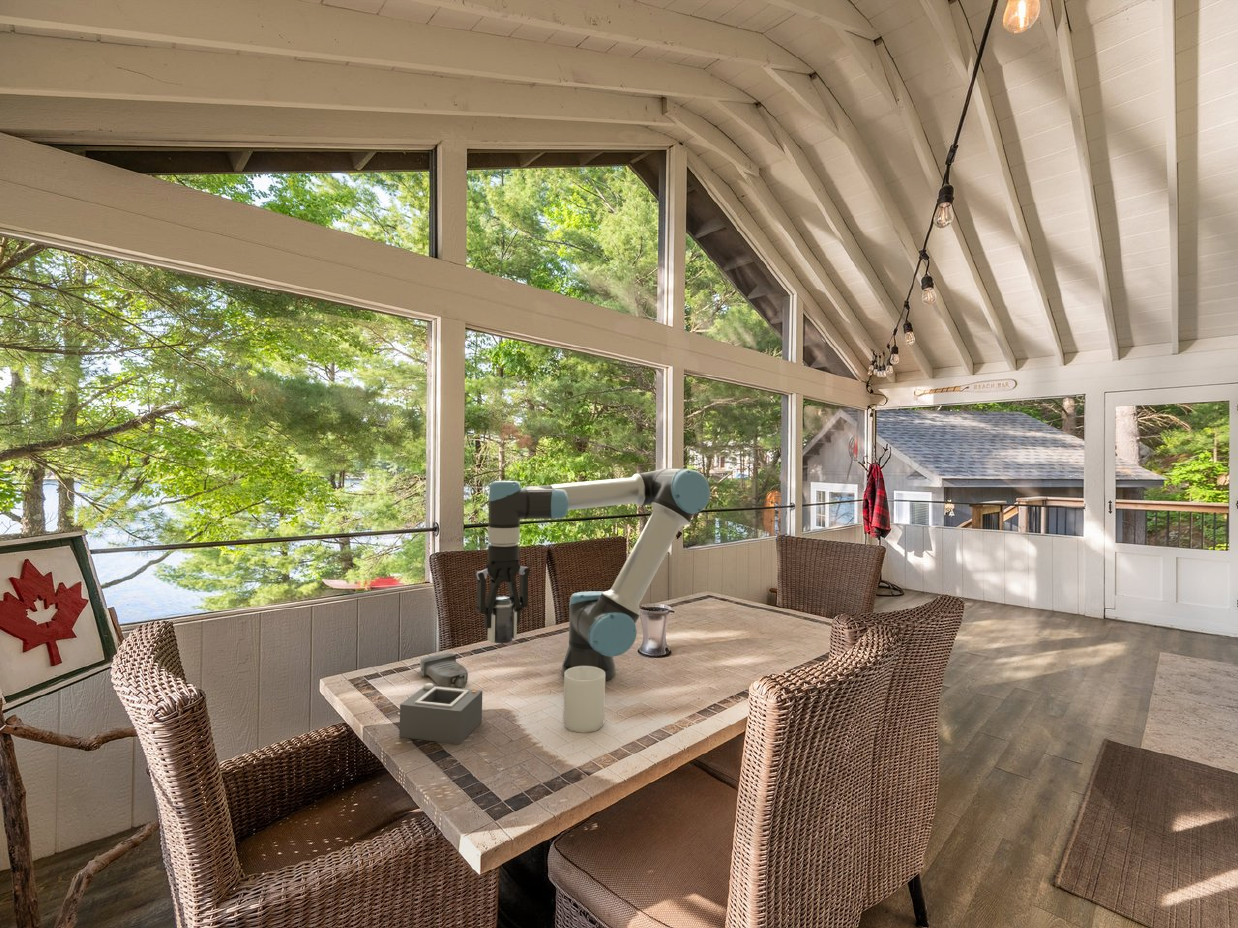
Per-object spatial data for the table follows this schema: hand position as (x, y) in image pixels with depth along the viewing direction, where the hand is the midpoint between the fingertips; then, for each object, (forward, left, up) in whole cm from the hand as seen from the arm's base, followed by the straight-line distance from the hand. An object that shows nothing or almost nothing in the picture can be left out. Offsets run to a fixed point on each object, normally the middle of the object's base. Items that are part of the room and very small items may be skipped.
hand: (502, 638), depth 138 cm
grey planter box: (+8, +14, -16) cm, 23 cm away
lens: (0, 0, 0) cm, 0 cm away
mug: (-21, +4, -17) cm, 27 cm away
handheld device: (+21, -13, -17) cm, 30 cm away
